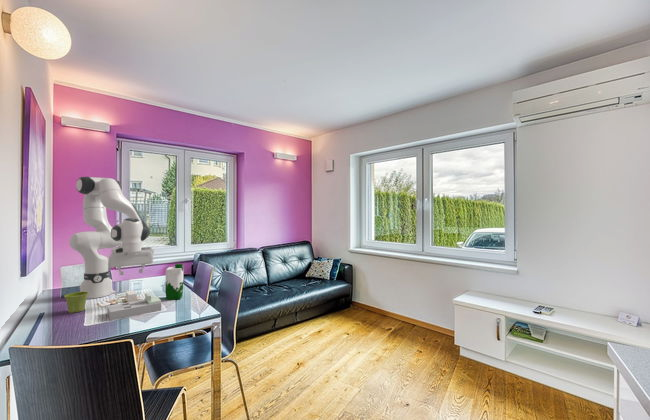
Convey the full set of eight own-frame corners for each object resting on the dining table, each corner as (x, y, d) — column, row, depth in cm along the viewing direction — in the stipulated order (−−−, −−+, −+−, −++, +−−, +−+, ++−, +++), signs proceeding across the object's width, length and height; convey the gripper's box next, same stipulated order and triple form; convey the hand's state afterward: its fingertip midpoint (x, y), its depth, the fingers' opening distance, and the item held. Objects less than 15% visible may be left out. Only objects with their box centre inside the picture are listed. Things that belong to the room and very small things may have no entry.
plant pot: (73, 315, 138) (74, 297, 139) (58, 313, 140) (59, 296, 141) (93, 308, 148) (93, 292, 148) (78, 307, 150) (78, 291, 150)
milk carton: (181, 299, 163) (181, 265, 164) (163, 301, 161) (164, 266, 161) (184, 295, 172) (184, 262, 172) (167, 297, 169) (167, 263, 169)
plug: (125, 303, 155) (125, 291, 155) (133, 302, 158) (133, 290, 158) (128, 307, 149) (128, 294, 149) (136, 306, 151) (136, 293, 151)
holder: (122, 304, 156) (122, 299, 156) (135, 301, 160) (135, 297, 160) (126, 309, 147) (126, 304, 147) (139, 306, 151) (139, 302, 151)
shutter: (144, 299, 150) (144, 292, 150) (156, 297, 154) (156, 290, 154) (148, 304, 143) (148, 296, 143) (161, 301, 146) (161, 294, 146)
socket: (107, 314, 140) (107, 305, 140) (155, 304, 154) (155, 297, 154) (110, 320, 131) (110, 312, 131) (161, 310, 145) (161, 302, 145)
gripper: (152, 246, 163) (151, 270, 163) (107, 249, 149) (107, 275, 149) (154, 247, 158) (154, 272, 158) (109, 250, 144) (108, 277, 144)
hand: (131, 273), depth 153 cm, fingers open, 7 cm apart
